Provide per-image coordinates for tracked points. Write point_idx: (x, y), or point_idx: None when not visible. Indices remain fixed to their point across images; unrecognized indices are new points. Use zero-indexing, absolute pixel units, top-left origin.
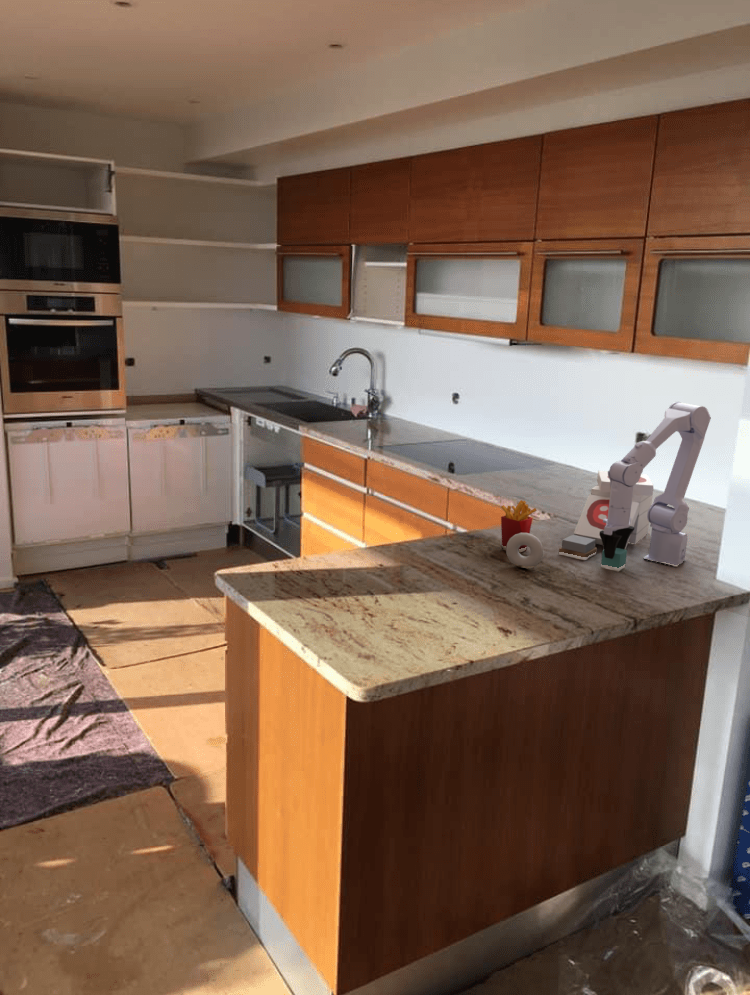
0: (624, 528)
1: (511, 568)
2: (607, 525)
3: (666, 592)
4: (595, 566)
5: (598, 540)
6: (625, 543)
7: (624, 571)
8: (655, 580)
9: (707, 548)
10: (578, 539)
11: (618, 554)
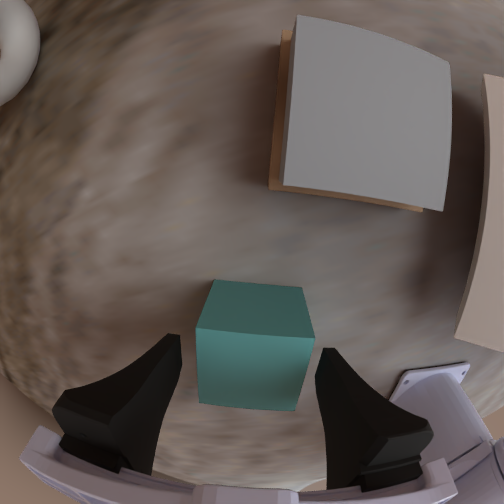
0: (341, 484)
1: None
2: (75, 487)
3: None
4: (214, 255)
5: (484, 205)
6: (323, 419)
7: None
8: (215, 429)
9: (501, 404)
10: (382, 104)
11: (198, 394)
